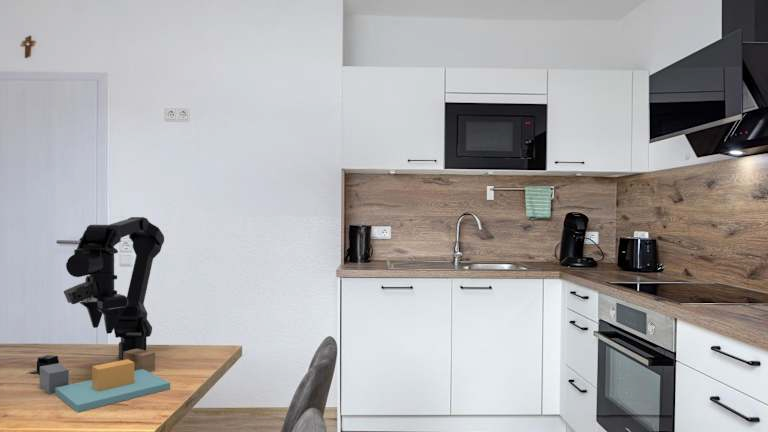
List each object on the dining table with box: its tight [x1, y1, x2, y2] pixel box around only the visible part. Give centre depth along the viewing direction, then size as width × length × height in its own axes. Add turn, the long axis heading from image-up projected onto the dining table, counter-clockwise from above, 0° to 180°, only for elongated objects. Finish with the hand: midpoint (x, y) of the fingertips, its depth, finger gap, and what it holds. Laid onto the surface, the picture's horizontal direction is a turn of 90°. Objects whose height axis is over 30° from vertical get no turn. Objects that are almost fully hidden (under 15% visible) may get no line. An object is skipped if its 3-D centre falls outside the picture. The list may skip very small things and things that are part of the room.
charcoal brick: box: [38, 362, 70, 395], centre depth 120 cm, size 8×4×5 cm, turn 48°
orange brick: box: [91, 359, 134, 391], centre depth 118 cm, size 8×4×5 cm, turn 138°
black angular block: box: [25, 354, 60, 375], centre depth 133 cm, size 12×7×5 cm, turn 77°
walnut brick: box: [122, 349, 156, 373], centre depth 135 cm, size 8×4×5 cm, turn 61°
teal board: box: [54, 369, 171, 413], centre depth 118 cm, size 20×16×2 cm
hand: (102, 330), depth 132 cm, fingers open, 9 cm apart
